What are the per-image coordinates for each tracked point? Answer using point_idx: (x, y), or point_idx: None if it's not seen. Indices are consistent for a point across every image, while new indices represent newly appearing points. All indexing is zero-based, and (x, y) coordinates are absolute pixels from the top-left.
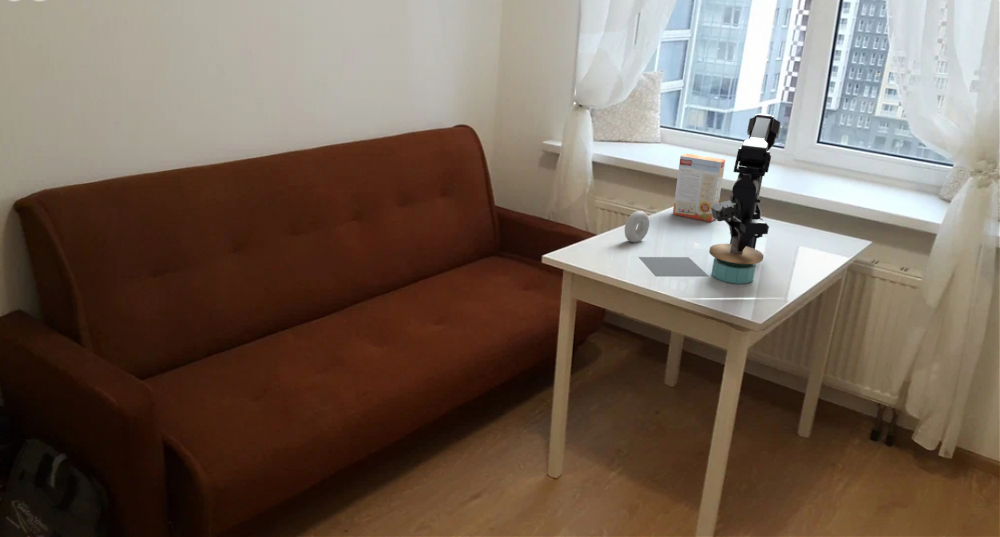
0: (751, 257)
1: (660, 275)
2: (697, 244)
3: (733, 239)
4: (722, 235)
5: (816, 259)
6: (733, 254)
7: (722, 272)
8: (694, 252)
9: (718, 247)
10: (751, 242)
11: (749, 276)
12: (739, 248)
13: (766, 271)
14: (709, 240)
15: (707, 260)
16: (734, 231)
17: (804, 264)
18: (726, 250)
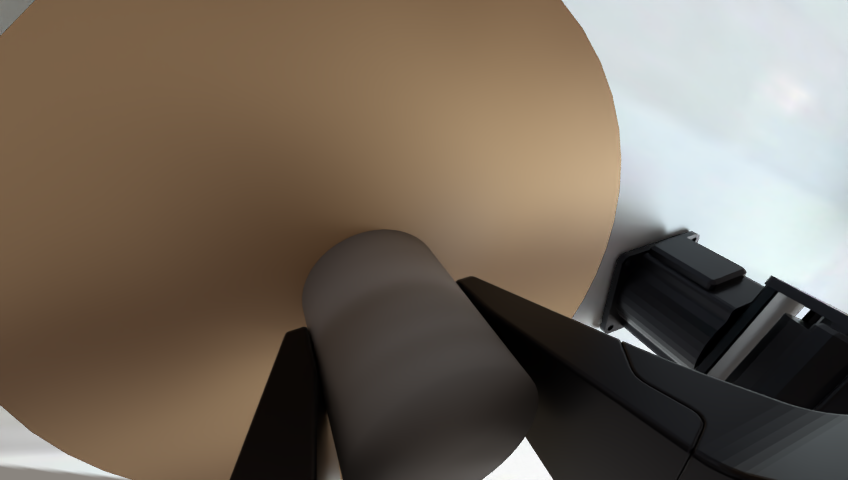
0: (215, 421)
1: None
2: (792, 103)
3: (421, 365)
4: (799, 235)
5: (549, 475)
6: (278, 252)
7: None
8: (729, 45)
9: (529, 114)
10: (666, 349)
11: None
12: (272, 371)
13: None
14: (794, 175)
15: (616, 90)
16: (618, 444)
17: (514, 457)
18: (425, 191)
